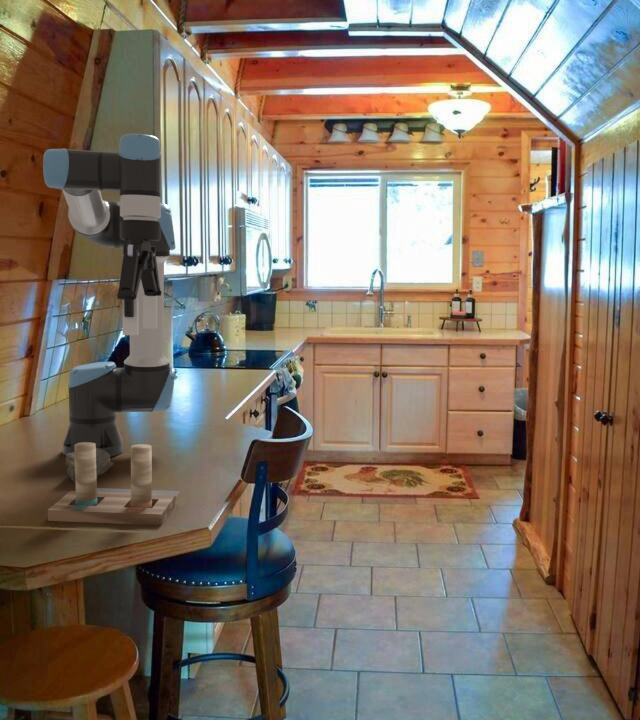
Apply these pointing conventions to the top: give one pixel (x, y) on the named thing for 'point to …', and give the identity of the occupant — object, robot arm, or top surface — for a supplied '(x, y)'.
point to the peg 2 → (141, 476)
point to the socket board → (112, 509)
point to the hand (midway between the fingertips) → (140, 331)
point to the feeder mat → (130, 491)
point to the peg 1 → (85, 474)
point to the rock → (101, 463)
